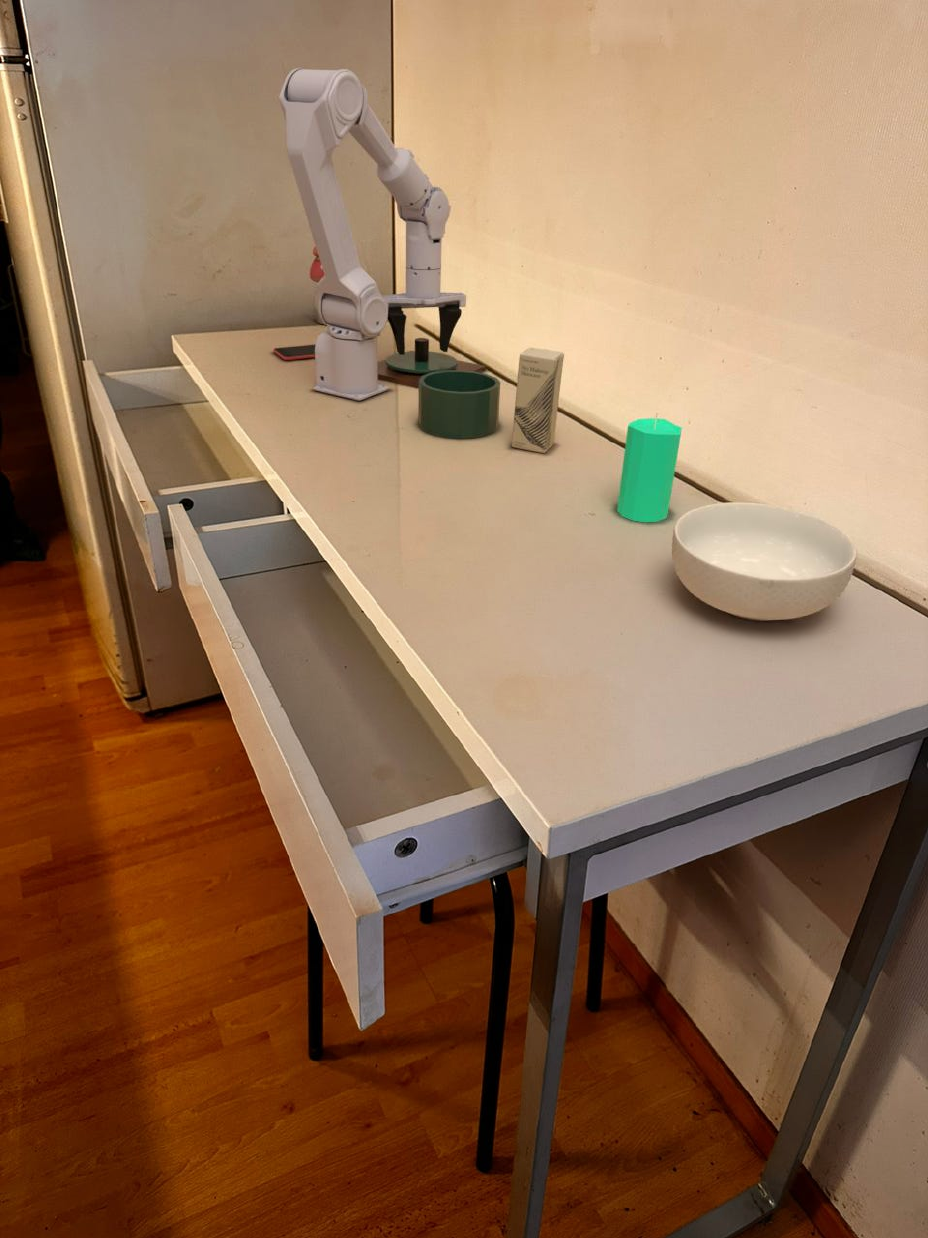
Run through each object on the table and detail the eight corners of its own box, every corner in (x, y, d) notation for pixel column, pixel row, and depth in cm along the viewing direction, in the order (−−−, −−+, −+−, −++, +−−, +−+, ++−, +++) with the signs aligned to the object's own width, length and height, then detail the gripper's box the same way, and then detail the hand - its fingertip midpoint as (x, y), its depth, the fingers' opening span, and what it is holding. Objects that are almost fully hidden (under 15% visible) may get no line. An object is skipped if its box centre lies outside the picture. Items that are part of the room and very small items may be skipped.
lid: (376, 373, 150) (376, 345, 147) (395, 354, 160) (395, 328, 158) (449, 379, 148) (450, 351, 145) (464, 360, 158) (464, 334, 156)
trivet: (356, 373, 152) (356, 369, 151) (410, 355, 163) (410, 350, 163) (435, 391, 145) (435, 386, 144) (486, 370, 156) (486, 365, 156)
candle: (637, 525, 102) (652, 423, 96) (606, 506, 107) (619, 407, 101) (678, 517, 105) (695, 417, 99) (647, 498, 109) (661, 401, 103)
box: (510, 448, 123) (516, 353, 116) (520, 438, 127) (527, 345, 120) (547, 454, 121) (555, 358, 115) (556, 444, 125) (565, 351, 118)
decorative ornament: (319, 327, 179) (315, 247, 171) (304, 321, 184) (300, 242, 176) (360, 323, 184) (358, 244, 176) (345, 316, 188) (342, 239, 181)
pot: (403, 427, 129) (403, 382, 125) (446, 408, 137) (447, 365, 134) (470, 444, 124) (472, 398, 120) (511, 423, 132) (514, 379, 129)
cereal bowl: (694, 548, 98) (705, 487, 94) (853, 589, 91) (872, 525, 87) (638, 613, 85) (648, 546, 82) (818, 667, 78) (838, 596, 75)
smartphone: (358, 350, 162) (284, 357, 156) (358, 353, 163) (284, 360, 157) (343, 341, 168) (271, 347, 161) (343, 344, 168) (271, 351, 162)
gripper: (387, 272, 140) (388, 360, 147) (473, 270, 144) (470, 355, 151) (374, 264, 145) (376, 349, 152) (458, 262, 150) (456, 345, 157)
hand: (422, 351), depth 152 cm, fingers open, 7 cm apart
